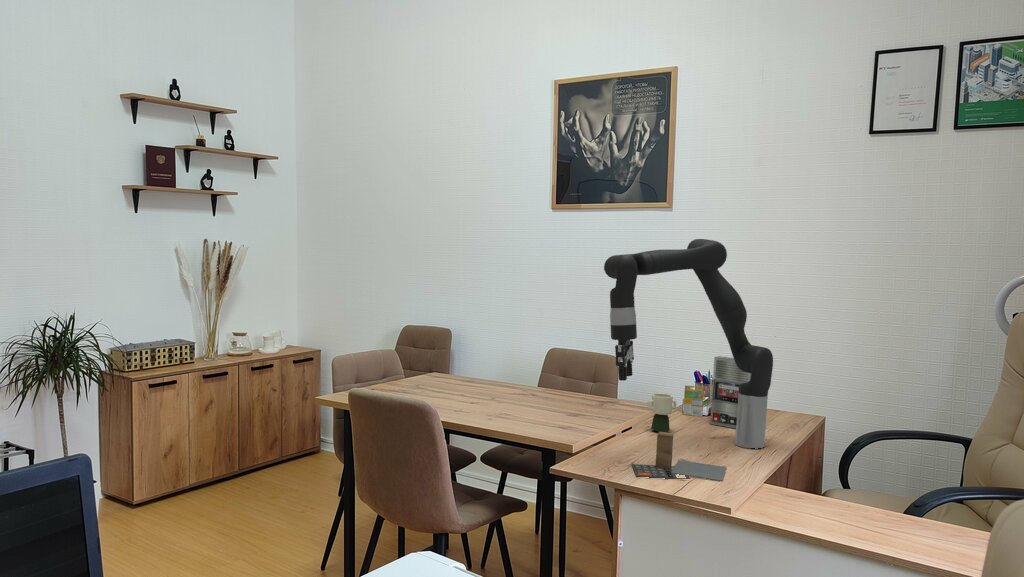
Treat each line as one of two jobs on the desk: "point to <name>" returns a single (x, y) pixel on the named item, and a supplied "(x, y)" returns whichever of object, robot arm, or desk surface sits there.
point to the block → (664, 450)
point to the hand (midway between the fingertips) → (625, 378)
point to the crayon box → (693, 401)
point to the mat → (699, 470)
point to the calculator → (655, 472)
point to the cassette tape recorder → (726, 391)
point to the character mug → (661, 411)
